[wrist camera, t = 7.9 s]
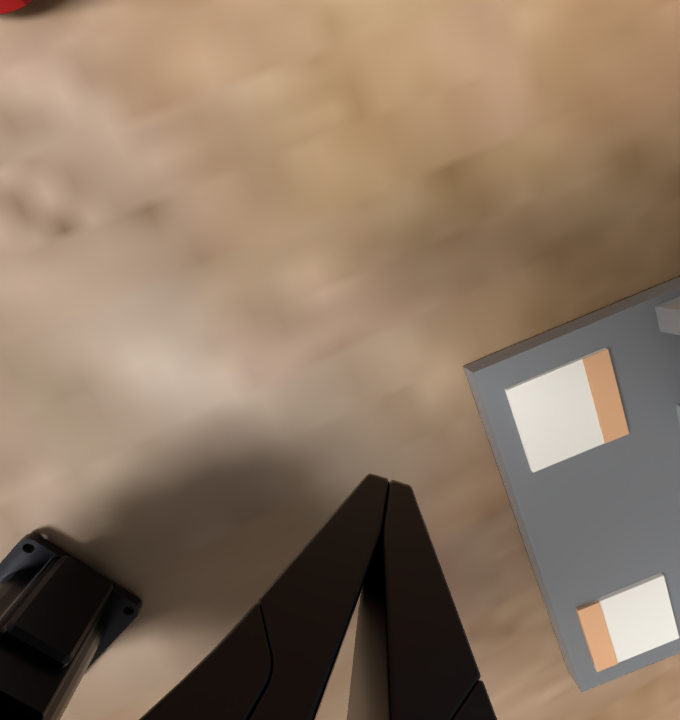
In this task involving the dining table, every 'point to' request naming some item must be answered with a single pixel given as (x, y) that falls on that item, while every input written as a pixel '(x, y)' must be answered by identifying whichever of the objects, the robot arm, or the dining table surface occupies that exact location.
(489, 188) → the dining table surface
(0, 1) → the soda can
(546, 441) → the switch box
